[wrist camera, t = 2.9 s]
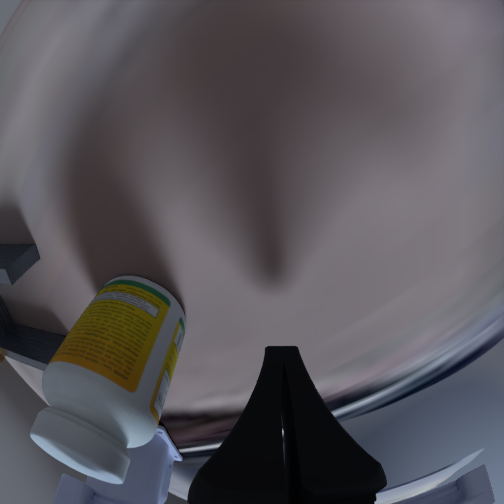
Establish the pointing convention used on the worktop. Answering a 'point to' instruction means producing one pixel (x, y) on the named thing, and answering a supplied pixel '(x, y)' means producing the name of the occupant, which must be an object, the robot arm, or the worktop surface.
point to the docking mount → (17, 336)
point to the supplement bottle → (111, 378)
